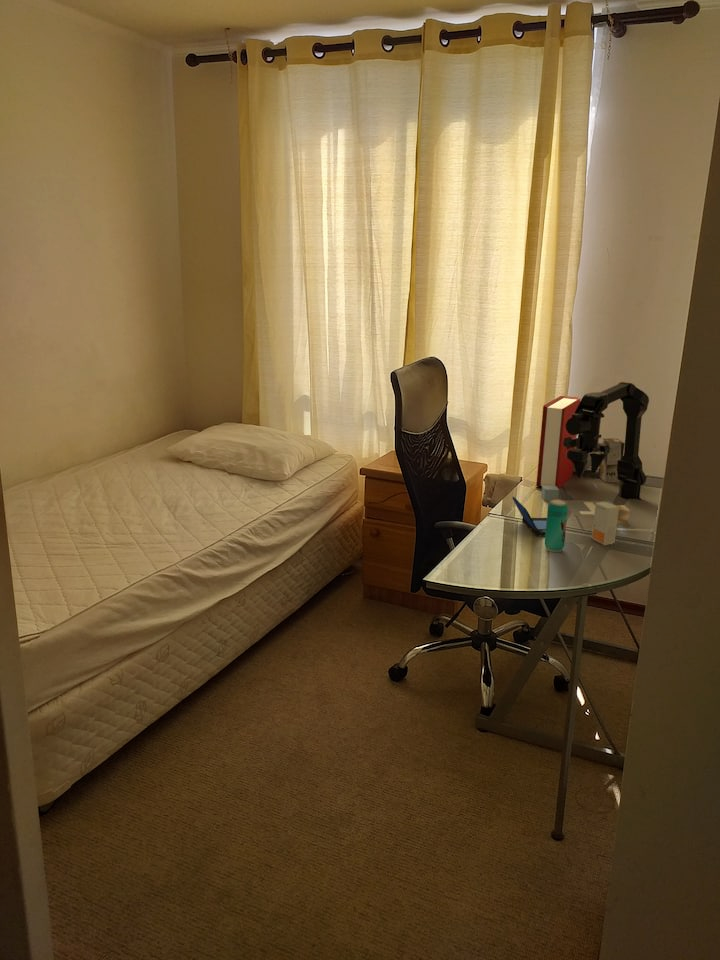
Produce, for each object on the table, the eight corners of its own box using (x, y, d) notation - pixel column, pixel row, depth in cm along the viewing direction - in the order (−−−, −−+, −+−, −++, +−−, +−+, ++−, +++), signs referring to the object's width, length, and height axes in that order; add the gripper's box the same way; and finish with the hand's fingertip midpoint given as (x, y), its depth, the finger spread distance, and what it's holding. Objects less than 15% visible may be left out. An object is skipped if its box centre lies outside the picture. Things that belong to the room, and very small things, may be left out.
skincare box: (590, 539, 232) (594, 502, 229) (601, 537, 233) (605, 501, 230) (604, 545, 226) (608, 508, 223) (615, 544, 228) (619, 506, 225)
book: (556, 490, 283) (564, 407, 274) (536, 487, 286) (543, 405, 278) (573, 474, 306) (581, 397, 297) (554, 471, 310) (561, 395, 301)
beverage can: (560, 554, 219) (565, 506, 215) (541, 550, 222) (545, 502, 217) (566, 548, 223) (571, 501, 219) (547, 544, 226) (552, 497, 222)
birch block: (622, 521, 250) (624, 505, 248) (627, 526, 245) (629, 510, 243) (606, 520, 250) (607, 505, 248) (611, 526, 245) (613, 510, 243)
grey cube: (554, 499, 273) (556, 485, 271) (557, 503, 268) (559, 489, 267) (541, 498, 273) (542, 485, 272) (543, 502, 268) (545, 489, 267)
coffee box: (620, 482, 295) (625, 443, 291) (604, 482, 296) (608, 442, 291) (613, 476, 304) (617, 438, 300) (597, 476, 304) (601, 437, 300)
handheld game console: (564, 537, 234) (567, 509, 231) (523, 537, 233) (525, 509, 230) (548, 521, 249) (551, 494, 246) (509, 521, 248) (511, 495, 245)
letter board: (610, 502, 269) (611, 501, 269) (627, 518, 252) (627, 517, 252) (561, 501, 269) (561, 499, 269) (573, 517, 252) (574, 515, 252)
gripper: (583, 424, 263) (579, 466, 267) (554, 431, 250) (550, 475, 255) (612, 429, 255) (608, 473, 259) (584, 436, 242) (579, 482, 247)
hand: (586, 475), depth 255 cm, fingers open, 9 cm apart
